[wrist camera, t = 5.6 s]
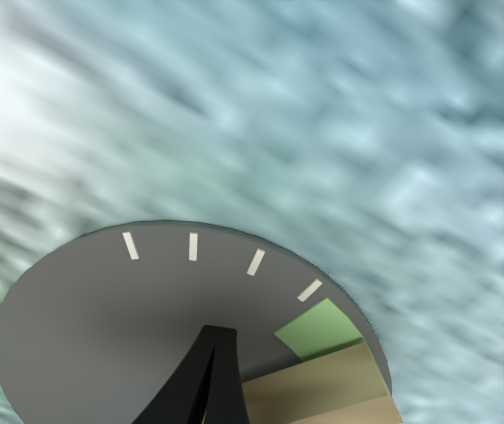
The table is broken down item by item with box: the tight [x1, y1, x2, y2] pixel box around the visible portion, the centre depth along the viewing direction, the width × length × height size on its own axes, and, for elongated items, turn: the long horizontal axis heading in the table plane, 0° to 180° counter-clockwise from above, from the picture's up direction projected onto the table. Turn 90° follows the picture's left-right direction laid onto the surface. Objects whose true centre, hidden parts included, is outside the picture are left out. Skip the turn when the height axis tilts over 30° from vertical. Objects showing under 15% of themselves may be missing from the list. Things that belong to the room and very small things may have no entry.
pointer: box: [202, 342, 403, 424], centre depth 11 cm, size 11×3×2 cm, turn 119°
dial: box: [0, 220, 392, 424], centre depth 14 cm, size 21×21×1 cm
